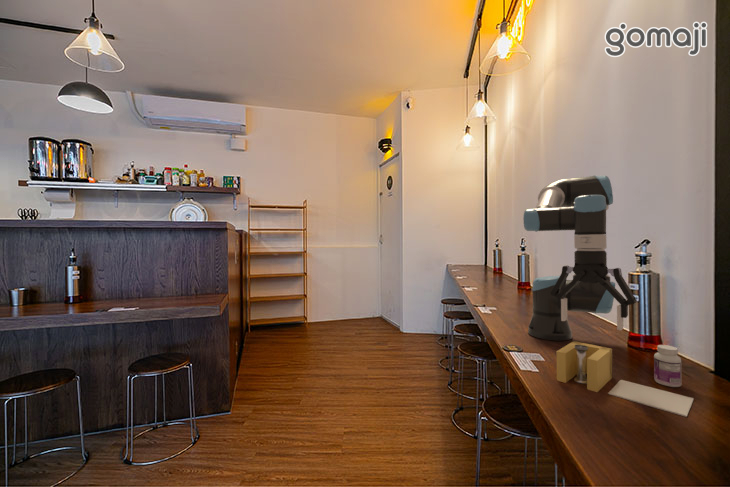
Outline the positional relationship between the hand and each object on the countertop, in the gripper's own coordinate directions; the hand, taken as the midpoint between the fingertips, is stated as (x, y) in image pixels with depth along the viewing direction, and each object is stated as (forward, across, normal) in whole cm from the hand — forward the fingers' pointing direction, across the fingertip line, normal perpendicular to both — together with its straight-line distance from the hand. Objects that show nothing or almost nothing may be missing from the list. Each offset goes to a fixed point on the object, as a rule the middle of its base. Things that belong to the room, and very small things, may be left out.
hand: (590, 324), depth 93 cm
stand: (+14, 0, -8) cm, 16 cm away
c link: (+14, 0, -5) cm, 15 cm away
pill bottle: (+14, +15, +8) cm, 22 cm away
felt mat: (+14, +14, -5) cm, 20 cm away
